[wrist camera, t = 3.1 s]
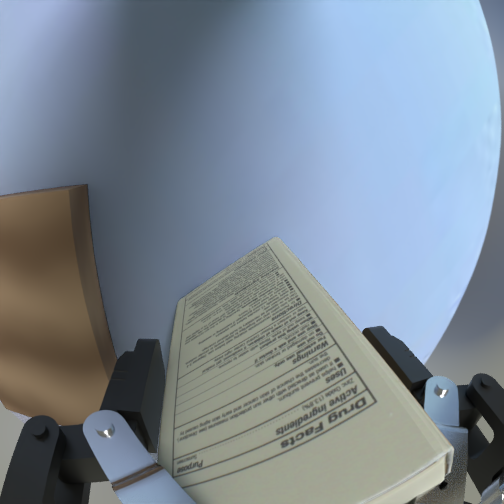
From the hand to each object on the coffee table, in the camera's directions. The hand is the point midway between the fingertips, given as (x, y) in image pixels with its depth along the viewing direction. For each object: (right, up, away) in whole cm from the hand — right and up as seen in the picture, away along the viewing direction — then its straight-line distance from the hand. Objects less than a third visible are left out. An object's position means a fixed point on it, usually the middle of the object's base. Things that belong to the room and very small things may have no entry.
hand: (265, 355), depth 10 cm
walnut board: (-15, -1, +3) cm, 15 cm away
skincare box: (-1, +2, +5) cm, 5 cm away
